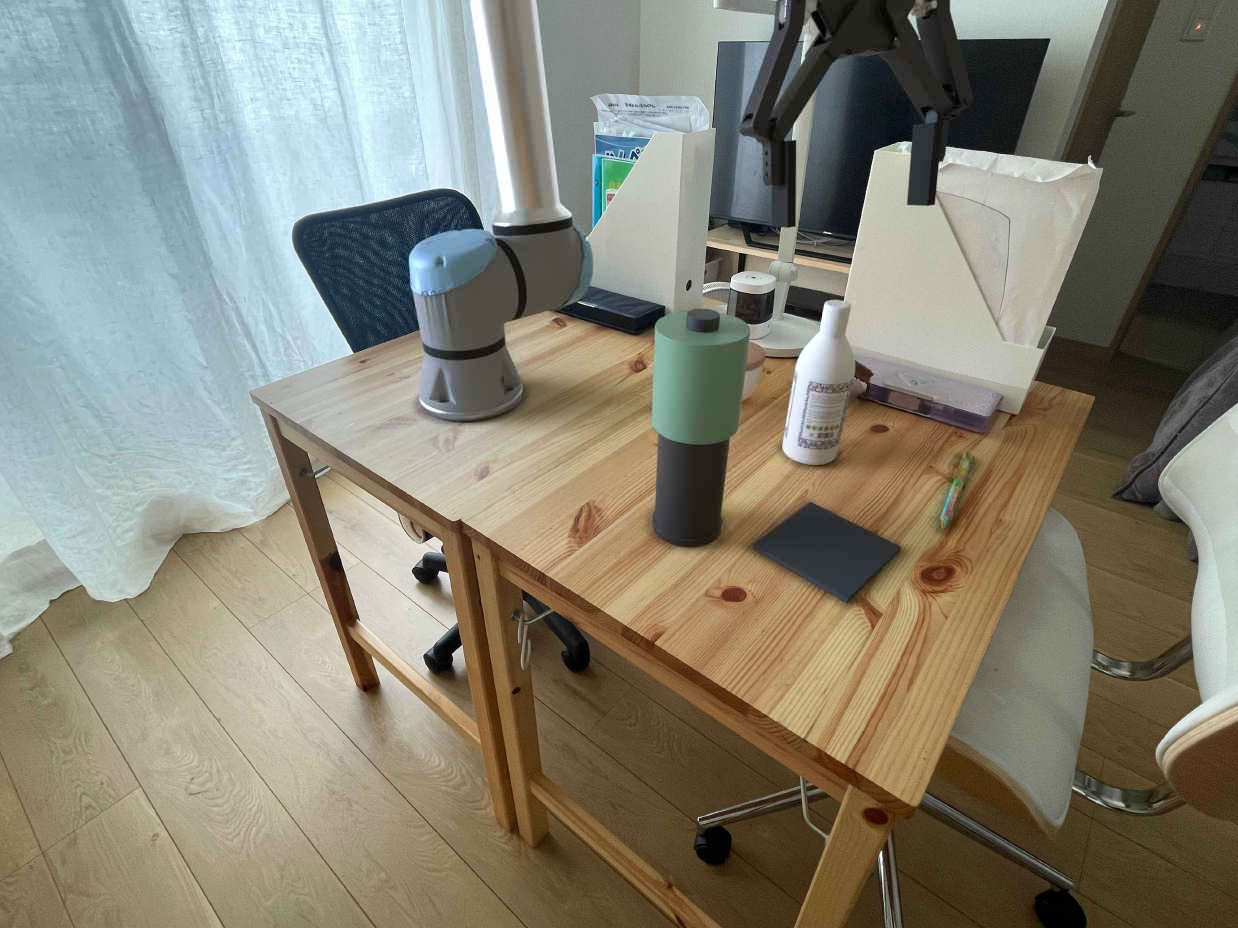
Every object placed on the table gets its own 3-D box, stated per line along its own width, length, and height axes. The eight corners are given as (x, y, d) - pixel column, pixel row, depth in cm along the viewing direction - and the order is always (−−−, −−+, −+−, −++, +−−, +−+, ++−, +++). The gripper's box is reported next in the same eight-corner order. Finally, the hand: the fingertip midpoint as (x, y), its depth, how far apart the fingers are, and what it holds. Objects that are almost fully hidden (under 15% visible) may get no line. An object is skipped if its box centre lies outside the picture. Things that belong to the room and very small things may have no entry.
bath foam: (847, 459, 81) (883, 308, 70) (805, 472, 79) (835, 317, 68) (811, 434, 87) (840, 291, 76) (770, 446, 84) (794, 299, 73)
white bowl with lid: (755, 384, 100) (763, 327, 95) (762, 416, 91) (770, 355, 86) (688, 380, 101) (691, 324, 96) (687, 412, 92) (691, 352, 87)
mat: (752, 548, 67) (752, 544, 66) (809, 505, 73) (810, 501, 73) (846, 603, 60) (848, 599, 60) (900, 551, 66) (901, 546, 66)
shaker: (641, 514, 72) (644, 413, 64) (699, 498, 74) (708, 399, 67) (672, 555, 66) (679, 449, 59) (734, 536, 68) (748, 432, 61)
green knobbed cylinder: (637, 411, 65) (639, 305, 59) (710, 396, 68) (719, 294, 61) (677, 452, 58) (684, 337, 52) (755, 434, 61) (771, 323, 55)
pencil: (947, 535, 69) (972, 460, 81) (950, 527, 68) (975, 453, 81) (934, 531, 69) (961, 457, 82) (937, 523, 69) (964, 450, 81)
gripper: (732, -109, 40) (742, 239, 49) (1052, -121, 45) (1007, 197, 54) (689, -67, 47) (704, 233, 56) (972, -82, 52) (944, 196, 61)
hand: (853, 216), depth 55 cm, fingers open, 13 cm apart
